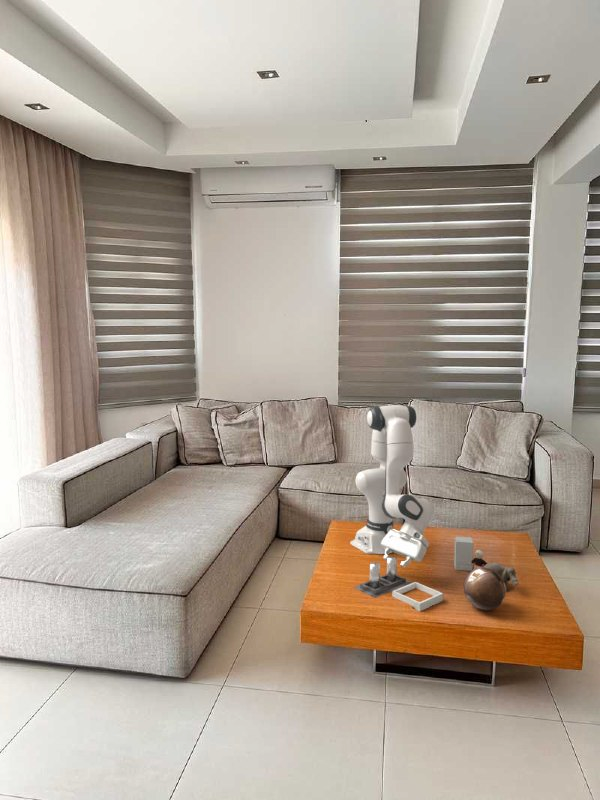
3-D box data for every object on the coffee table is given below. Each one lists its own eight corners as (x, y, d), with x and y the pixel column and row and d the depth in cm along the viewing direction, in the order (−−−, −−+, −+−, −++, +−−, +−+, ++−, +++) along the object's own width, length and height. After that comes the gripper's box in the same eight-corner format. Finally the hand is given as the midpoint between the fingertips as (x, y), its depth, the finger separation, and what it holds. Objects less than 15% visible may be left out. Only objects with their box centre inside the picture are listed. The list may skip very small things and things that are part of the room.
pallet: (353, 589, 240) (353, 583, 239) (390, 575, 253) (390, 569, 253) (374, 600, 230) (375, 594, 230) (412, 584, 244) (412, 578, 244)
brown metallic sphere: (454, 606, 225) (455, 567, 224) (479, 595, 234) (480, 558, 233) (488, 621, 213) (490, 581, 212) (513, 609, 223) (514, 570, 221)
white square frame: (392, 598, 232) (392, 591, 231) (415, 588, 240) (415, 581, 240) (419, 611, 221) (419, 603, 221) (442, 600, 230) (443, 593, 229)
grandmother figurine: (468, 580, 248) (469, 550, 247) (469, 576, 252) (470, 547, 250) (487, 582, 246) (489, 553, 244) (488, 579, 249) (489, 549, 248)
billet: (384, 581, 245) (384, 557, 244) (391, 578, 248) (391, 555, 246) (391, 584, 242) (392, 560, 241) (398, 581, 244) (399, 558, 243)
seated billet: (367, 588, 239) (367, 563, 238) (374, 585, 241) (374, 561, 240) (374, 591, 236) (375, 567, 235) (381, 588, 238) (382, 564, 237)
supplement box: (472, 571, 257) (473, 542, 256) (454, 569, 259) (455, 541, 257) (471, 564, 265) (472, 537, 263) (454, 563, 266) (454, 535, 265)
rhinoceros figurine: (482, 570, 252) (502, 548, 243) (507, 596, 245) (528, 575, 237) (473, 577, 247) (492, 555, 238) (498, 604, 240) (519, 582, 232)
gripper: (388, 523, 256) (371, 551, 251) (425, 537, 240) (408, 567, 236) (394, 531, 260) (378, 558, 255) (432, 545, 244) (416, 574, 239)
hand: (393, 562), depth 245 cm, fingers open, 8 cm apart
